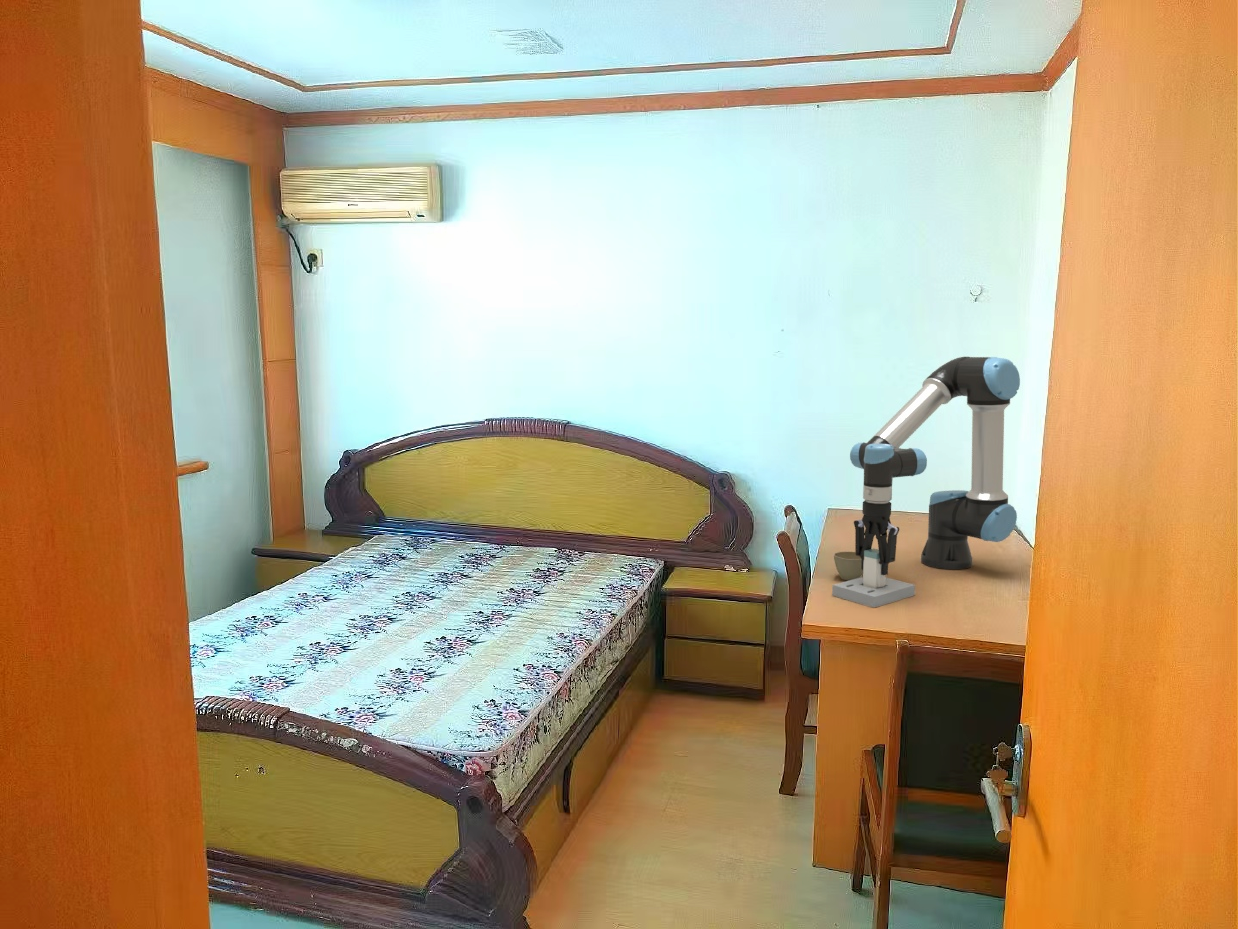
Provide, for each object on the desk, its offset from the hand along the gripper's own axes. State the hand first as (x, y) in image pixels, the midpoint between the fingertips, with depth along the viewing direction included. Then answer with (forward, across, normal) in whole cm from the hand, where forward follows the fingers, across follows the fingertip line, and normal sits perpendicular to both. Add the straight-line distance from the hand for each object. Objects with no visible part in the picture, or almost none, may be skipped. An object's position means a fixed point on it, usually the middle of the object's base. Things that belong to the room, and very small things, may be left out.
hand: (873, 583), depth 246 cm
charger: (+1, 0, 0) cm, 1 cm away
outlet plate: (+3, 0, 0) cm, 3 cm away
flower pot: (+4, -15, +9) cm, 17 cm away
